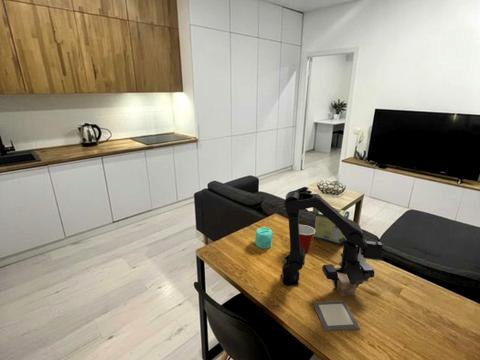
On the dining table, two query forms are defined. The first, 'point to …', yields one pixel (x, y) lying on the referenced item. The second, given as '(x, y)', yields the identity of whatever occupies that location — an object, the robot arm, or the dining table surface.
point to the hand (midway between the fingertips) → (345, 288)
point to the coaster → (335, 316)
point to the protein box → (328, 228)
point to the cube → (345, 286)
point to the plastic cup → (305, 236)
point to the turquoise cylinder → (263, 238)
